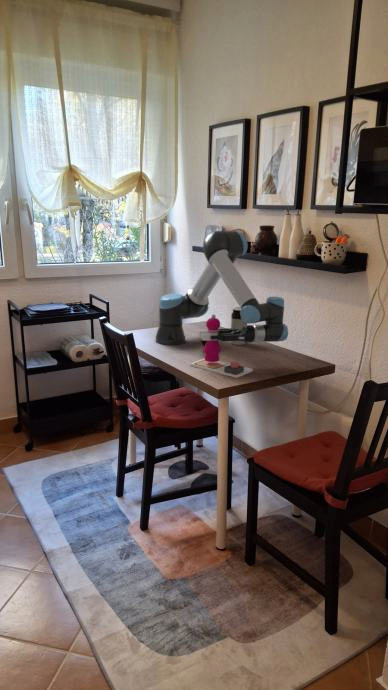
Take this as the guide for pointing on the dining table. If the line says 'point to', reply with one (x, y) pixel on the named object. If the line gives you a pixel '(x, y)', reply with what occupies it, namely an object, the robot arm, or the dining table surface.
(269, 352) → the dining table surface
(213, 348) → the pepper mill
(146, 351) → the dining table surface
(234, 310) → the travel mug
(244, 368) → the picture board
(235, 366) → the button
